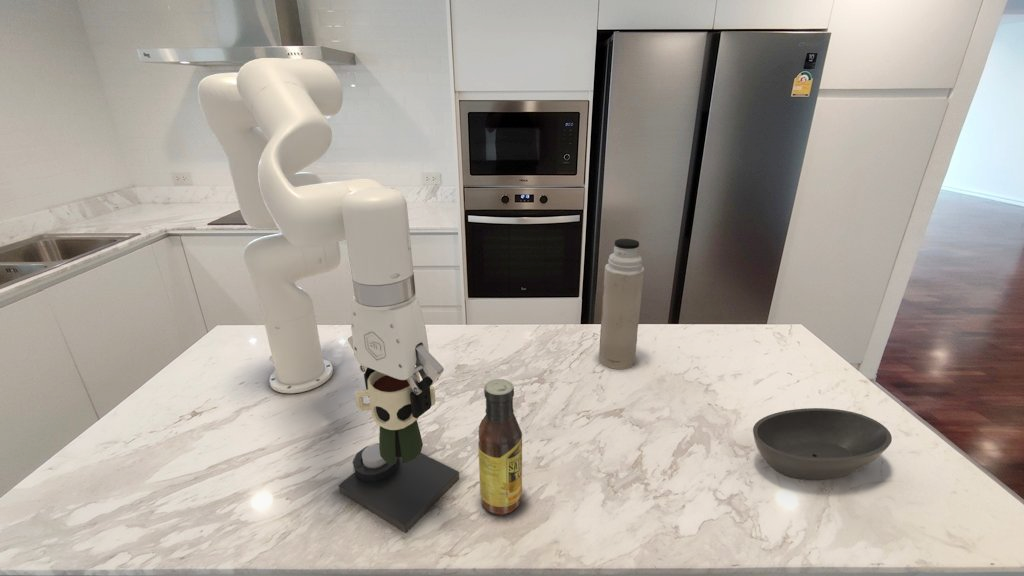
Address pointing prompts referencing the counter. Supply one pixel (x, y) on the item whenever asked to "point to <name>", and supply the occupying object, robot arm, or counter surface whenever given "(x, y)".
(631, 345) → the thermos bottle
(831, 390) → the counter surface
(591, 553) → the counter surface
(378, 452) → the button
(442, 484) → the scale
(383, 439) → the character mug
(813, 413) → the bowl
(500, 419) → the sauce bottle
